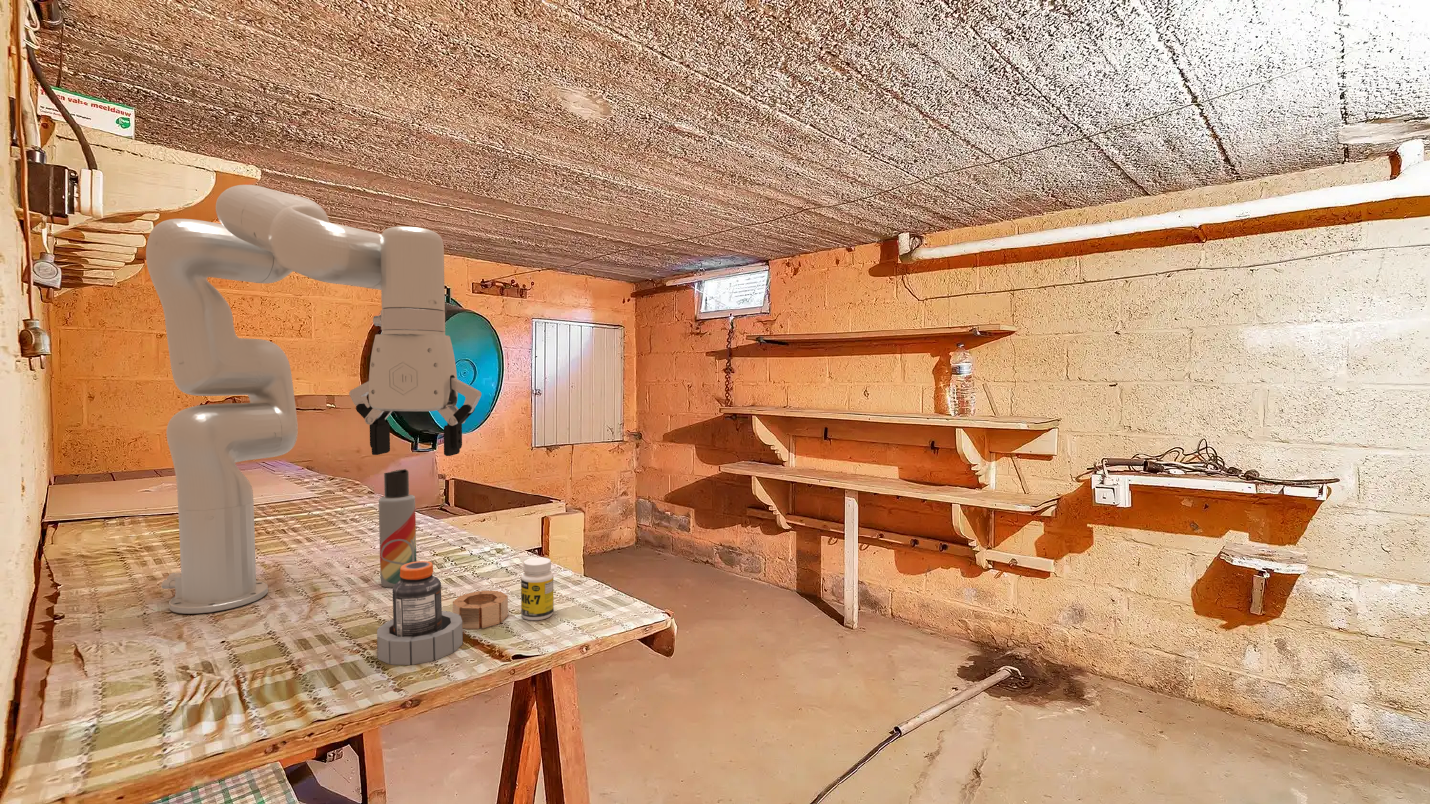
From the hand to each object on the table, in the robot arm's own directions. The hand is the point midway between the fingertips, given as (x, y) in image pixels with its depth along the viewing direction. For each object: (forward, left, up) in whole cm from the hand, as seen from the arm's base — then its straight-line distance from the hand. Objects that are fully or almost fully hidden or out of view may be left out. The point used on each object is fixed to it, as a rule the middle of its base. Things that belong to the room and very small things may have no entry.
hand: (416, 454), depth 85 cm
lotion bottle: (-17, +25, -26) cm, 40 cm away
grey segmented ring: (0, 0, -26) cm, 26 cm away
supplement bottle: (+12, +12, -26) cm, 31 cm away
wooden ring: (+4, +10, -26) cm, 28 cm away
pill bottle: (0, 0, -26) cm, 26 cm away
